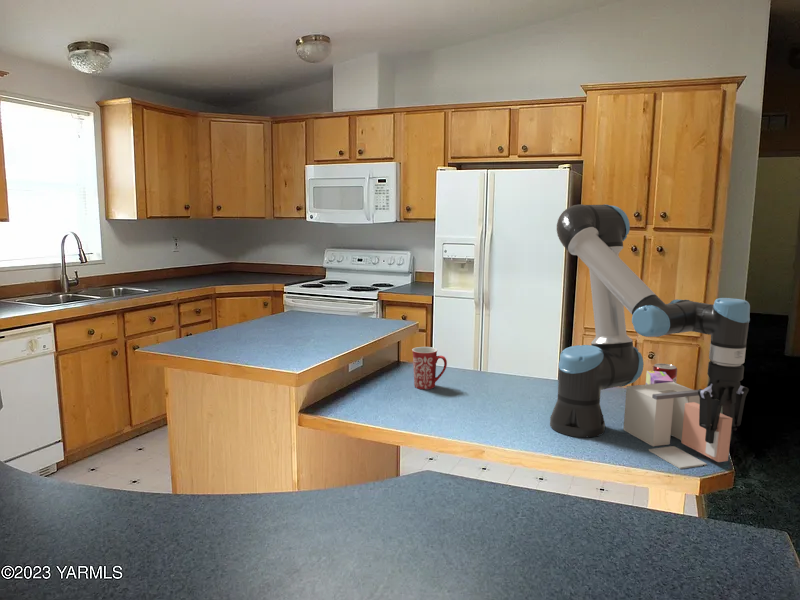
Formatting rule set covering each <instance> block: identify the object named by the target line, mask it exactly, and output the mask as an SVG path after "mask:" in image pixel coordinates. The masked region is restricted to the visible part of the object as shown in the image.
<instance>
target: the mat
mask: <svg viewBox="0 0 800 600" xmlns="http://www.w3.org/2000/svg"><path fill="white" fill-rule="evenodd" d="M648 452H650V453H652V454H654V455H655V456H656V457H659V458H661V459H662V460H663V461H665V462H667V463H669V464H670V465H673V466H674V467H675V468H677V469H679V470H682V469H689V468H697V467H703V465H704V466H707V463H706V462H704V461H703V460H701V459H698V458H697V457H696V456H694V455H692V454H689V453H688V452H686V451H684V450H682V449H681V448H678V447H676V446H675V445H673V446H671V445H670V446H663V447H656V448H648Z"/></svg>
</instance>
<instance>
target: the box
mask: <svg viewBox="0 0 800 600" xmlns="http://www.w3.org/2000/svg"><path fill="white" fill-rule="evenodd" d="M667 382H674V381H673V380H672V379H671V378H670V377H669V376H668V375H667V374H666V372H661V371H653V370H646V375H645V384H656V383H667Z"/></svg>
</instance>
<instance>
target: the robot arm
mask: <svg viewBox="0 0 800 600" xmlns="http://www.w3.org/2000/svg"><path fill="white" fill-rule="evenodd" d="M630 228H631V227H630V220H629V217H628V215H627V213H626V212H625V211H624V210H622V208H620V207H619V206H617V205H609V204H606V203H605V204H580V203H579V204H574V205H570V206H569V207H567V208H566V209H565V210H563V211H562V212H561V214H560V215H559V217H558V219H557V223H556V234H557V237H558V239H559V241H560V243H561V244H562V246H563V247H564V249H566V251H568V252H569V254H570V255H572V256H577V257H578V258H579V259H580V260H581V262H582V263H584V265H586V267H587V268H588V270H589V280H590V289H591V291H590V292H591V300H592V301H591V303H592V309H593V310H592V311H593V320H594V321H593V322H594V331H595V336H594V339H593V340H592V341H591V342H590V343H591V344H590V345H589V344H582V345H580V344H578V345H571V346H569V347H566V348H564V349H563V350H562V351H561V352H560V355H559V362H558V377H557V379H558V381H557V383H558V384H557V400H556V402H555V404H554V407H553V410H552V412H551V415H550V418H549V426H550V428H551V429H553V430H554V431H556V432H557V433H560V434H563V435H565V436H570V437H575V438H576V437H577V438H594V437H599V436H601V435H603V434H604V433H605V427H606V421H605V418H604V415H603V411H602V408H601V393H602V391H603V390H607V389H612V388H617V387H627V386H629V385H630V384H633V383H636V381H638V379H639V378H640V377H641V376H642V373H643V371H644V359H643V358H644V357H643V356H642V353H641V352H640V351H639V349H638V348H637V347H635V345H634V342H633V341H634V340H633V339H632V338H631V337H630V336H629V335H628V334H627V328H626V327H627V325H626V317H625V316H626V315H625V309H627V311H628V312H629V313H630V314H631V316H632V317H631V323H632V326H633V329H634V331H636V333H637V334H639V335H640V336H642V337H646V338H649V337H650V338H651V337H652V338H653V337H654V338H655V337H656V338H657V337H663V336H666V335H667V336H669V335H673V334H681V333H688V332H691V333H692V332H695V333H700V334H705V335H708V336H710V342H709V353H708V354H709V355H708V359H709V362H708V366H707V374H706V375H708V378H709V381H708V383H707V387H705V388H704V389H702V388H699V389H697V390H698V394H699V397H700V409H699V426H701V427H703V428H705V429H706V436H705V437H706V438H705V441H706V451H705V453H707V454H709V455H711V456H713V457H716V456H717V446H718V437H719V432H718V431H716V429H717V425H718V421H719V416H720V413H721V414H724V415H726V416H728V417H731V418H732V427H731V437H730V442H731V441H732V439H733V431H737V429H738V427H740V426H741V423H742V419H743V413H744V408H745V407H744V406H745V401H746V397H747V394H748V393H749V391H750V389H749V388H748V387H746V386H743V385H742V384H741V381H743V379H744V372H745V366H744V365H743V364H744V363H745V359H746V350H747V339H748V334H749V333H748V332H749V325H750V324H749V323H750V322H751V318H750V313H751V305H750V303H749V301H747V300H745V299H741V298H732V297H719V298H716V299H715V300H714V302H713V304H710V303H704V302H698V301H692V300H689V299H673V300H671V301H670V302H669V303H665V302H664V301H663V300H662V299H661V298H660V297H659V296H658V295H657V294H656V293H655V292H654V291H653V290H652V289H651V288H650V286H648V285H647V284H646V283H645V282H644V281H643V280H642V279H641V278H640V277H639V276H638V275H637V274H636V273H635V272H634V271H633V270H632V269H631V268H630V267H629V265H627V264H626V262H624V261H623V259H621V257H620V256H619V254H620V252H621V251H622V250H623V249H624V241H625V240H626V239H627V237H628V235H629V233H630ZM721 411H722V412H721Z"/></svg>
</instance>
